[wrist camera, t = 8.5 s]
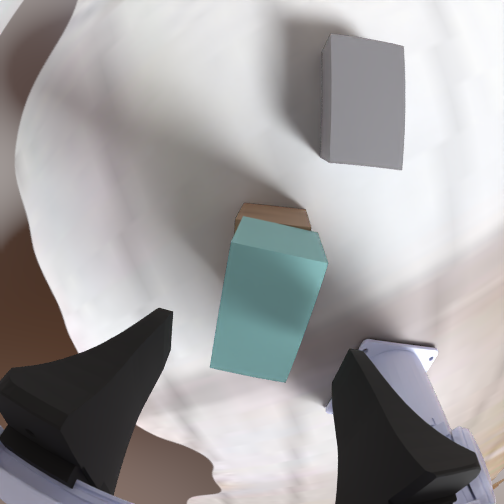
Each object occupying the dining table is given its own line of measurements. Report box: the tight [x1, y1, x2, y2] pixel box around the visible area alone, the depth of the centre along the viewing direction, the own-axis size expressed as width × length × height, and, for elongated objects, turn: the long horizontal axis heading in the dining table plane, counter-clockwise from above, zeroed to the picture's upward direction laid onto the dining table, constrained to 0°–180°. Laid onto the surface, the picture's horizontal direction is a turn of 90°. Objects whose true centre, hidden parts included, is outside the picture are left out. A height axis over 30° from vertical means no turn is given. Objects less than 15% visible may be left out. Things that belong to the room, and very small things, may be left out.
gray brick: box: [320, 34, 405, 170], centre depth 15 cm, size 7×4×4 cm, turn 179°
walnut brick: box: [234, 203, 311, 234], centre depth 19 cm, size 7×4×4 cm, turn 175°
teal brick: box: [210, 216, 328, 382], centre depth 15 cm, size 7×4×4 cm, turn 169°
